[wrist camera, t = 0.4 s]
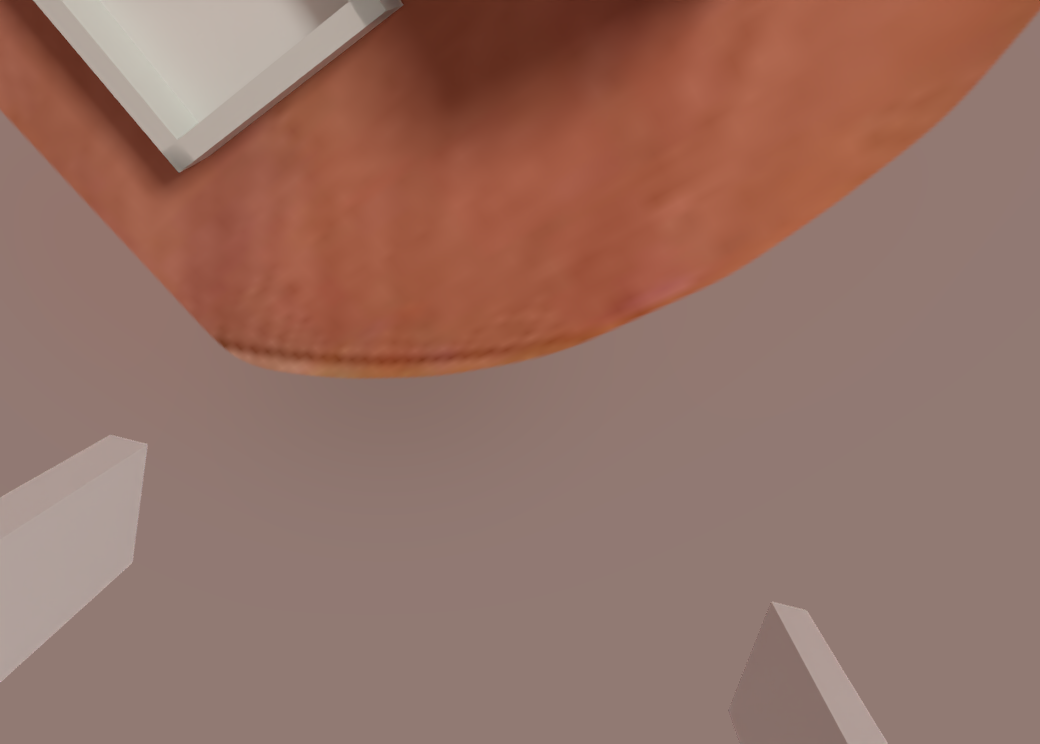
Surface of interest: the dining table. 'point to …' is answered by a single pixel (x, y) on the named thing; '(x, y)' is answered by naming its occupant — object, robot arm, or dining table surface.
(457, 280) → the dining table surface
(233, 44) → the tray
